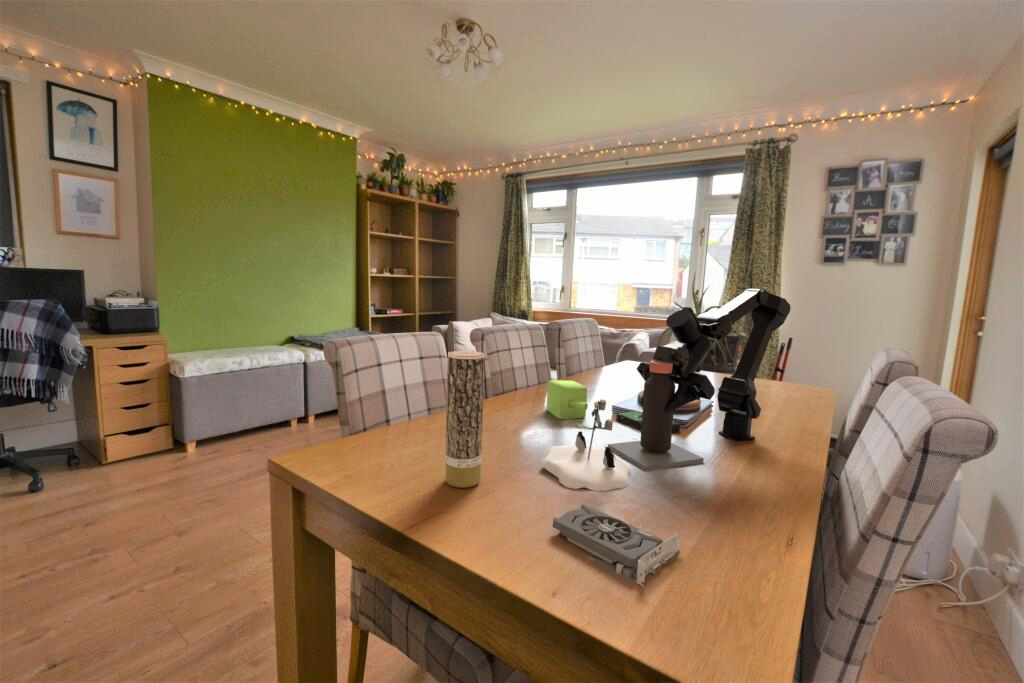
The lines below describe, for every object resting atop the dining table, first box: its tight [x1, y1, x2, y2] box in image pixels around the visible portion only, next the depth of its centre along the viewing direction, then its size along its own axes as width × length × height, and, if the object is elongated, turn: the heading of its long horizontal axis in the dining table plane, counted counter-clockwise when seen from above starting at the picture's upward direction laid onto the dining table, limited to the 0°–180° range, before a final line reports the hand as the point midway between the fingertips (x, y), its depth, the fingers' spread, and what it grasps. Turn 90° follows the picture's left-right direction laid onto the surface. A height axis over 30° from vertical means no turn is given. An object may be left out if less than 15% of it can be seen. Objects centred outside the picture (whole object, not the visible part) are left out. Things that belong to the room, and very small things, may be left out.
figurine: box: [541, 399, 632, 492], centre depth 96 cm, size 20×18×16 cm
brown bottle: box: [640, 359, 676, 452], centre depth 106 cm, size 7×7×20 cm
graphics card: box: [552, 504, 681, 588], centre depth 70 cm, size 17×4×12 cm
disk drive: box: [615, 410, 681, 433], centre depth 131 cm, size 10×3×15 cm
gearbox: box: [546, 379, 589, 420], centre depth 138 cm, size 18×10×10 cm, turn 16°
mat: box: [607, 440, 704, 472], centre depth 108 cm, size 16×14×1 cm
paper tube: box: [444, 350, 485, 489], centre depth 88 cm, size 7×7×25 cm
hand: (653, 407), depth 106 cm, fingers closed on brown bottle, 7 cm apart
